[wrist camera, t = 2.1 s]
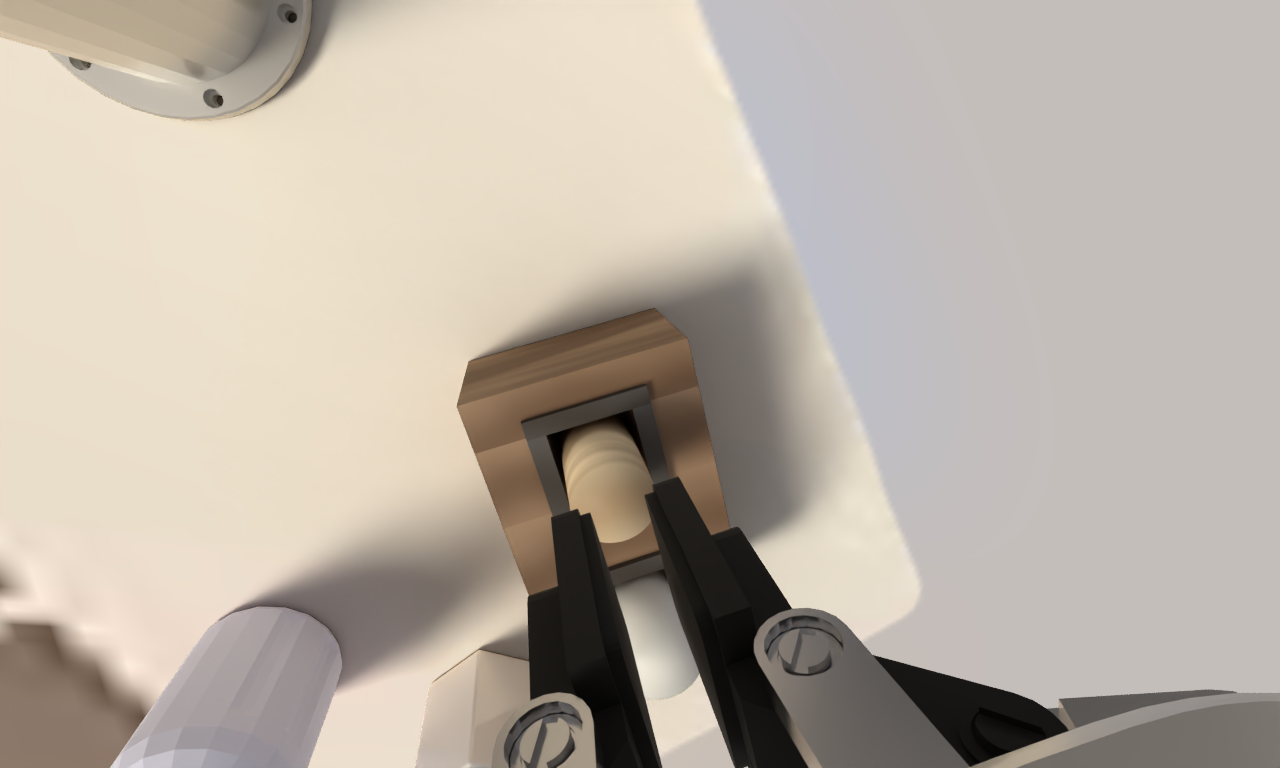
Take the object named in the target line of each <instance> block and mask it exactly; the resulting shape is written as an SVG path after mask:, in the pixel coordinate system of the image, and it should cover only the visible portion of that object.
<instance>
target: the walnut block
mask: <svg viewBox="0 0 1280 768" xmlns="http://www.w3.org/2000/svg"><path fill="white" fill-rule="evenodd" d="M457 408H458V411H459V414H460V416H461V419H462V422H463V424H464V427H465V429H466V432H467V435H468V437H469V440H470V442H471V445H472V448H473V450H474V453H475V456H476V458H477V461H478V463H479V466H480V469H481V471H482V474H483V476H484V479H485V482H486V484H487V487H488V490H489V492H490V495H491V497H492V500H493V503H494V505H495V508H496V510H497V513H498V516H499V518H500V521H501V524H502V526H503V529H504V531H505V534H506V537H507V539H508V542H509V544H510V547H511V550H512V552H513V555H514V558H515V560H516V563H517V565H518V568H519V571H520V573H521V576H522V578H523V581H524V584H525V586H526V589H527V592H528V594H529V595H532V594H535V593H538V592H541V591H544V590H547V589H550V588H553V587H556V586H558V583H557V573H556V563H555V554H554V544H553V535H552V525H551V517H553V516H556V515H559V514H562V513H565V512H568V511H570V505H569V499H568V493H567V487H566V481H565V475H564V469H563V463H562V457H561V451H560V445H559V442H558V439H557V436H556V432H559V431H562V430H566V429H569V428H572V427H575V426H579V425H582V424H585V423H589V422H592V421H595V420H598V419H602V418H605V417H608V416H611V415H615V414H618V413H621V412H623V416H624V419H625V422H626V424H627V427H628V429H629V431H630V433H631V435H632V437H633V440H634V442H635V444H636V446H637V448H638V450H639V453H640V455H641V457H642V459H643V461H644V464H645V466H646V468H647V470H648V472H649V474H650V477H651V479H652V481H653V483H654V484H656V483H659V482H662V481H665V480H669V479H672V478H675V477H679V478H680V480H681V482H682V483H683V485H684V487H685V489H686V491H687V492H688V494H689V496H690V498H691V500H692V502H693V503H694V505H695V507H696V509H697V511H698V512H699V514H700V516H701V518H702V520H703V521H704V523H705V525H706V527H707V529H708V530H709V532H710V534H711V535H713V534H716V533H719V532H722V531H725V530H728V529H730V525H729V521H728V516H727V512H726V507H725V503H724V498H723V494H722V490H721V485H720V481H719V476H718V472H717V467H716V463H715V458H714V454H713V449H712V445H711V440H710V436H709V431H708V427H707V423H706V418H705V414H704V409H703V405H702V400H701V396H700V391H699V387H698V382H697V378H696V373H695V369H694V365H693V360H692V356H691V351H690V347H689V342H688V338H687V337H686V336H685V335H684V334H682V333H681V332H680V331H679V330H678V329H677V328H676V327H675V326H674V325H672V324H671V323H670V322H669V321H668V320H667V319H666V318H665V317H664V316H662V315H661V314H660V313H659V312H658V311H657V310H656V309H655V308H653V309H649V310H646V311H642V312H639V313H636V314H632V315H629V316H625V317H622V318H618V319H615V320H611V321H608V322H604V323H601V324H597V325H594V326H590V327H587V328H584V329H580V330H577V331H573V332H570V333H566V334H563V335H559V336H556V337H552V338H549V339H545V340H542V341H539V342H535V343H532V344H528V345H525V346H521V347H518V348H514V349H511V350H507V351H504V352H500V353H497V354H493V355H490V356H487V357H483V358H480V359H476V360H473V361H469V362H468V366H467V369H466V373H465V377H464V381H463V384H462V388H461V392H460V396H459V399H458V403H457ZM600 544H601V547H602V550H603V553H604V556H605V560H606V563H607V566H608V569H609V572H610V575H611V578H612V582H613V585H617V584H620V583H623V582H626V581H629V580H632V579H635V578H638V577H641V576H644V575H647V574H650V573H653V572H656V571H659V570H662V569H664V565H663V562H662V558H661V555H660V551H659V547H658V544H657V540H656V537H655V533H654V529H653V526H652V522H650V523H649V525H648V526H647V527H646V528H645V529H644V530H643V531H642V532H641V533H639V534H638V535H636V536H634V537H633V538H631V539H628V540H625V541H622V542H616V543H603V542H600Z"/></svg>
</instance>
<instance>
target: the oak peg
mask: <svg viewBox="0 0 1280 768" xmlns="http://www.w3.org/2000/svg"><path fill="white" fill-rule="evenodd" d="M559 445H560V451H561V457H562V463H563V469H564V475H565V481H566V487H567V493H568V499H569V505H570V511H572V510H575V509H578V510H579V513H580V515H583V514H586V513H589V512H590V513H591V516H592V519H593V522H594V525H595V528H596V531H597V534H598V538H599V541H600V542H603V543H616V542H622V541H625V540H628V539H631V538H633V537H634V536H636V535H638V534H639V533H641V532H642V531H643V530H644V529H645V528H646V527H647V526H648V525H649V523H650V522H651V519H650V515H649V511H648V508H647V504H646V501H645V496H644V495H646V494H649V493H652V492H653V487H652V485H653V484H654V483H653V481H652V479H651V477H650V474H649V472H648V470H647V468H646V466H645V464H644V461H643V459H642V457H641V455H640V453H639V450H638V448H637V446H636V444H635V442H634V440H633V437H632V435H631V433H630V431H629V429H628V427H627V424H626V422H625V420H624V419H623V418H622V416H621V415H620V414H619V413H618V414H615V415H611V416H608V417H605V418H602V419H598V420H595V421H592V422H589V423H585V424H582V425H579V426H575V427H572V428H569V429H566V430H562V431H560V434H559Z"/></svg>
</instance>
